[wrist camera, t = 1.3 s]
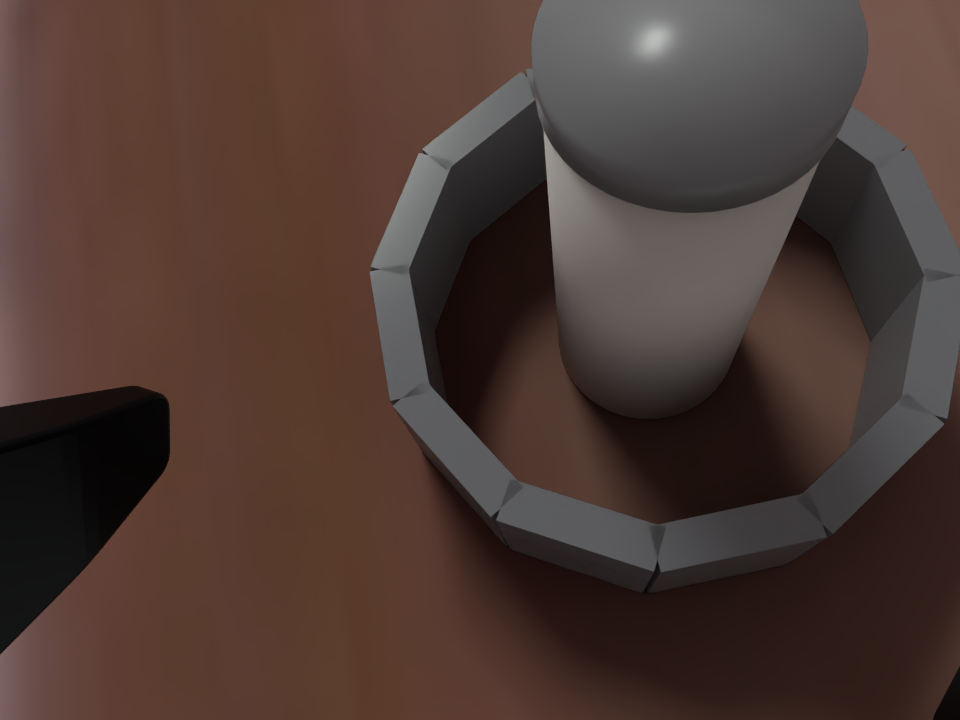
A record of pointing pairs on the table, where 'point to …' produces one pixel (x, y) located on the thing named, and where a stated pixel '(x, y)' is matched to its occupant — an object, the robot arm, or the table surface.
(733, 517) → the collar
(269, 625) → the table surface
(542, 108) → the canister
